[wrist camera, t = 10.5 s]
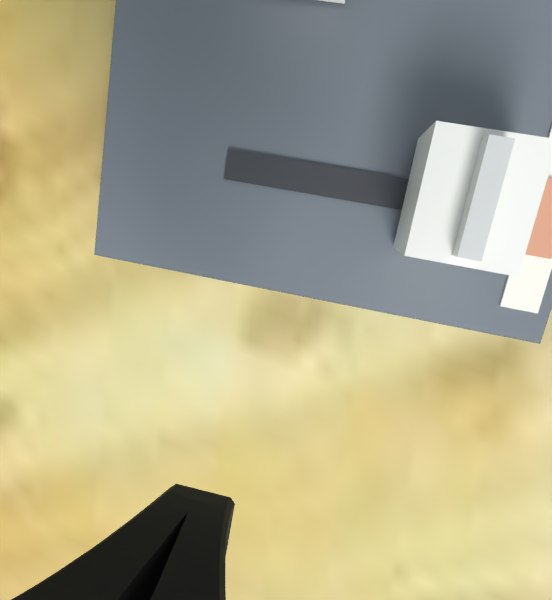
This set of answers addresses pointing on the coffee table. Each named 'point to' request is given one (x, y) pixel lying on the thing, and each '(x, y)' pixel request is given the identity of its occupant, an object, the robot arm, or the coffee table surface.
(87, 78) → the coffee table surface
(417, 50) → the switch panel
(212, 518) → the robot arm
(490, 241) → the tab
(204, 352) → the coffee table surface
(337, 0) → the middle tab
